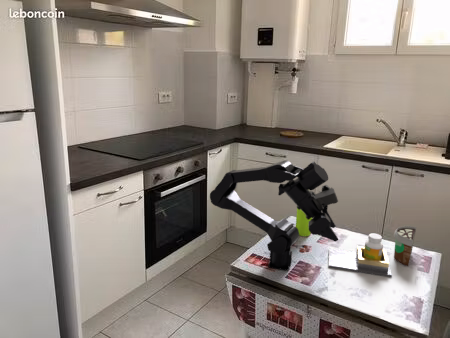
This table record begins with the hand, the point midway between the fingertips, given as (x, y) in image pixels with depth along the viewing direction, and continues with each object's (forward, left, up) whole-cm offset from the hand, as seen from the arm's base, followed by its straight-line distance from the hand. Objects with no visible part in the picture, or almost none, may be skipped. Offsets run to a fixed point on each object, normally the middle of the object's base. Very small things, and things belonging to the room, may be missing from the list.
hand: (335, 233), depth 116 cm
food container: (+23, +17, -14) cm, 31 cm away
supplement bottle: (+13, +9, -13) cm, 20 cm away
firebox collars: (+9, +9, -14) cm, 18 cm away
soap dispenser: (-10, +26, -14) cm, 31 cm away
